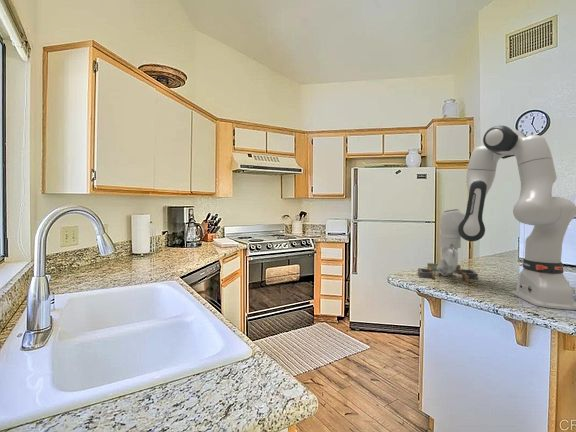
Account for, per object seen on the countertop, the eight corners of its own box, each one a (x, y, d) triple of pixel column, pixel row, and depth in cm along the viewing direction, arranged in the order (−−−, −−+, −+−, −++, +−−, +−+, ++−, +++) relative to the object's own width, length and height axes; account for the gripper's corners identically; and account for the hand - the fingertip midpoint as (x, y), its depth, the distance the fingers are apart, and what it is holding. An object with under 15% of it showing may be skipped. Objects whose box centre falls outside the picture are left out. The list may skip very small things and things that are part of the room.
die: (433, 276, 158) (442, 263, 152) (434, 265, 165) (442, 252, 159) (449, 283, 156) (459, 270, 150) (450, 271, 163) (459, 258, 157)
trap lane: (481, 283, 143) (481, 274, 143) (420, 278, 151) (420, 270, 151) (471, 273, 161) (471, 265, 161) (416, 269, 169) (416, 262, 169)
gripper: (461, 246, 139) (460, 277, 140) (453, 241, 159) (452, 268, 159) (446, 246, 141) (445, 276, 142) (439, 240, 161) (439, 267, 161)
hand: (449, 272), depth 151 cm, fingers closed
